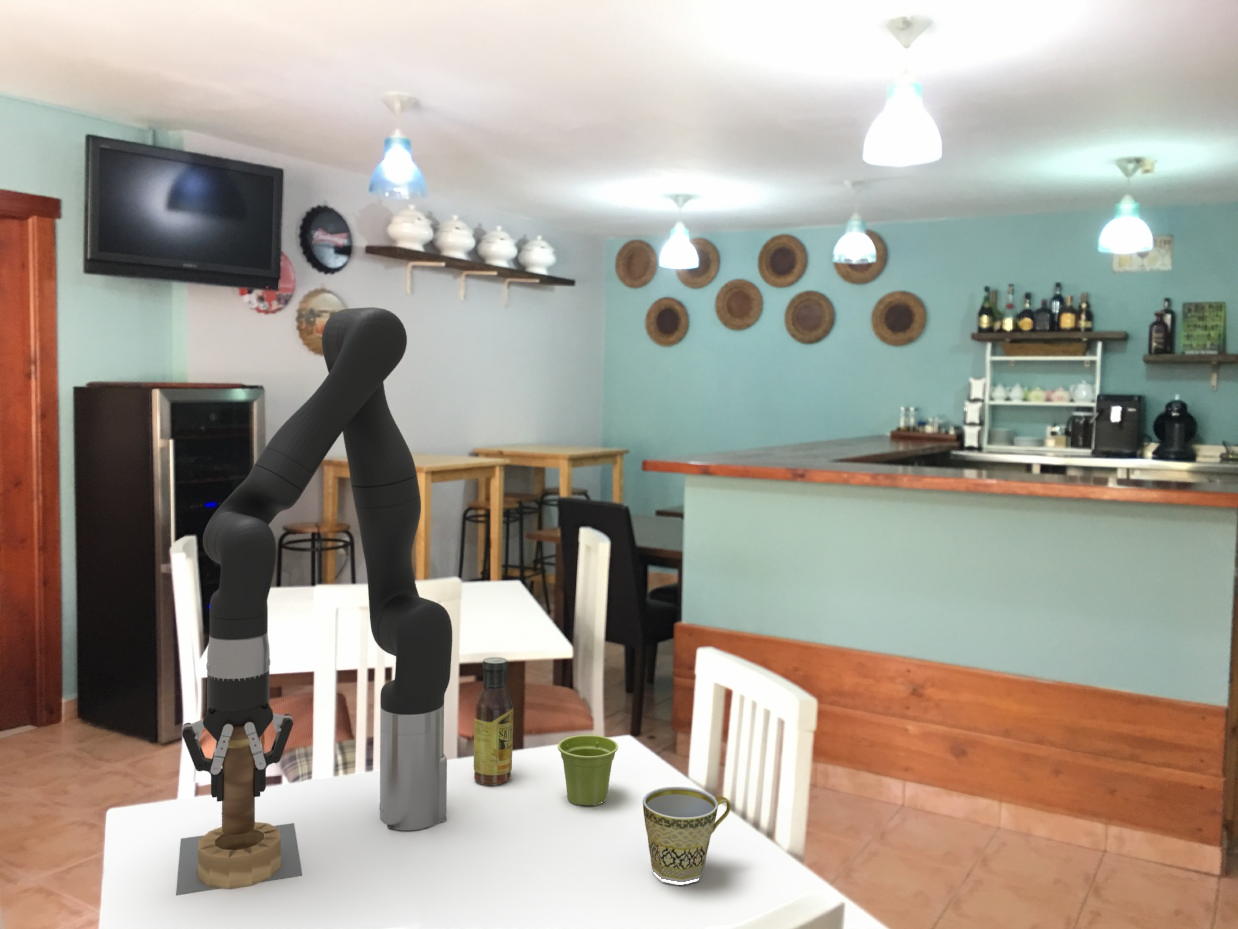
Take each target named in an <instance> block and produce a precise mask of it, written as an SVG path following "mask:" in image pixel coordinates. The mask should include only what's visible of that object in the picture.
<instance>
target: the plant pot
mask: <svg viewBox="0 0 1238 929" xmlns="http://www.w3.org/2000/svg"><path fill="white" fill-rule="evenodd" d="M618 749H619V744H618V743H617V742H616V741H615V740H613V739H612V738H609V737H606V736H603V735H593V734H580V735H573V736H569V737H565V738H564V739H561V740H560V741H559V742H558V744H557V750H558V751H559V752H560V756H561V757H560V758H561V759H562V763H563V769H564V777H565V778H564V779H565V786H566V787H565V788H566V795H567V800H568V801H569V802H570V801H571V804H573V803H575V804H574V805H576V804H579V805H585V806H587V805H594V806H597V805H596V804H598V805H600V804H599V803H601V802H603V803H605V801H606V799H607V796H608V792H609V786H610V785H609V784H610V778H611V771H612V765H613V761H614V759H615V755H616V753H617V751H618ZM601 804H602V803H601ZM579 805H578V806H579Z"/></svg>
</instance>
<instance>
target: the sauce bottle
mask: <svg viewBox="0 0 1238 929" xmlns="http://www.w3.org/2000/svg"><path fill="white" fill-rule="evenodd" d="M508 662H509V661H508V659H507V658H505V657H501V656H500V657H499V656H492V657H485V658H483V659H482V669H483V681H482V686H483V687H482V689H481V690H480V692H479V693H478V695H477V698H476V701H475V715H474V727H473V730H474V733H473V734H474V735H473V738H474V739H473V770H474V774H473V775H474V776H473V777H474V780H475V781H476V782H477V783H478V784H480V785H481V784H482V785H487V786H494V785H501V784H504V783H507V782H509V781H510V779H511V774H512V773H511V772H512V770H513V738H514V735H513V734H514V705H513V703H512V699H511V696H510V693H509V690H508V686H507V685H508V684H507V669H508V667H509V665H508Z"/></svg>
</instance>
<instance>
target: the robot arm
mask: <svg viewBox="0 0 1238 929" xmlns="http://www.w3.org/2000/svg"><path fill="white" fill-rule="evenodd" d="M407 336H408V334H407V331H406V327H405V325H404V324H403V322H402V321H401V319H400V318H399V316H397V315H396V314H395V313H394V312H392V311H390V310H388V309H386V308H380V307H375V306H373V307H372V306H371V307H370V306H369V307H355V308H354V307H353V308H345V309H340V310H338V311H335V312H334V313H332V314H331V315H330V317H329V318H328V319H327V321H325V324H324V326H323V329H322V334H321V349H322V353H323V357H324V358H323V359H324V362H325V365H326V368H327V373H328V374H327V376H326V377H325V379H324V380H323V381H322V382H321V384H320V385H319V387H318V388H317V389H316V390H315V392H314V393H313V394H312V395H311V396H310V397H309V398H308V399H307V400H306V402H304V403H303V404H302V405H301V406H300V407H299V408H298V409H297V410H296V411H295V412H294V413H293V414H292V415H291V416H290V417H289V418H288V419H287V420H286V421H285V422H284V423H283V424H282V425H281V426H280V428H279V429H278V430H277V431H276V432H275V434H274V435H273V436H272V438H271V439H270V440H269V442H268V443H267V445H266V447H265V448H264V449H263V451H262V453H261V454H260V455H259V457H258V459H257V460H256V462H255V463H254V465H253V466H252V468H251V469H250V471H249V473H248V475H247V477H246V478H245V479H244V480H243V481H242V482H241V483H240V484H239V485H238V486H237V487H236V488H235V489H234V490H232V492H231V494H229V496H228V497H227V498H225V500H224V501H223V503H222V504H221V505H219V507H218V508H217V509H216V510H215V511H214V513H213V514H212V516H211V518H210V519H209V520H208V523H207V524H206V527H205V529H204V532H203V536H202V546H203V549H204V551H205V554H206V555H207V557H208V558H209V559H211V561H213V562H215V563H216V564H219V565H220V575H219V586H218V589H217V590H215V591H214V592H213V593H212V595H211V597H210V600H209V601H210V602H209V610H208V611H209V638H208V639H209V640H208V645H207V646H208V647H207V651H206V652H207V654H206V655H207V656H206V658H207V660H206V661H207V662H206V676H207V677H206V679H207V680H206V682H207V683H206V684H207V685H206V711H205V714H204V715H203V718H202V719H200V720H198V721H195V722H192V723H191V722H185V723H184V724H183V726H182V730H181V736H182V738H183V740H184V741H183V742H184V743H185V746H186V748H187V751H188V753H189V756H190V758H191V760H192V763H193V766H194V768H195V770H196V771H197V772H207V773H209V774H210V795H211V797H212V798H213V799H215V798H216V802H222V801H223V773H222V763H223V760H224V757H225V754H226V751H227V748H228V740H230V737H231V734H232V731H233V727H236V726H244V728H245V732H246V735H247V736H248V738H250V748H251V751H252V754H253V757H254V760H255V785H254V797H255V798H260V797H261V793H263V792H264V793H265V791H266V787H267V768H268V767H269V766H270V765H272V764H277V763H279V762H280V761H281V759H282V756H283V753H284V751H285V748H286V744H287V742H288V740H289V737H290V734H291V731H292V729H293V726H294V721H293V716H292V714H290V713H285V714H283V715H282V714H278V713H276V712H275V713H274V712H273V709H272V708H271V705H270V666H271V659H270V658H271V657H270V656H271V655H270V652H271V650H270V642H269V633H268V632H269V631H268V630H269V629H268V628H269V626H268V624H269V621H268V620H269V619H268V612H269V610H268V609H269V605H268V598H269V595H270V590H271V586H272V584H273V578H274V573H275V568H276V563H277V544H276V543H277V542H276V537H275V534H274V531H273V530H272V528H271V526H270V524H271V523H272V521H273V520H274V519H275V518H276V516H278V514H280V513H281V512H283V511H286V510H289V509H291V508H293V507H294V505H295V504H297V502H298V501H299V499H300V498H301V497H302V495H303V493H304V491H305V490H306V488H307V487H308V486H309V484H310V482H311V480H312V479H313V477H314V475H315V474H316V472H317V471H318V469H319V467H320V466H321V464H322V463H323V461H324V459H325V458H326V456H327V454H328V453H329V452H330V450H331V449H332V447H333V445H334V444H335V443H336V441H337V440H338V439H339V437H340V436H341V434H342V437H343V442H344V447H345V454H346V459H347V464H348V465H347V466H348V472H349V478H350V486H351V491H352V497H353V498H352V499H353V503H354V509H355V512H356V517H357V521H358V528H359V534H360V539H361V540H360V542H361V546H362V553H363V557H364V562H365V568H366V579H367V591H368V592H367V594H368V595H367V596H368V607H369V608H368V609H369V611H368V612H369V621H370V622H369V624H370V629H371V634H372V637H373V639H374V642H375V643H376V645H377V646H378V647H379V648H380V649H381V650H382V651H384V652H385V653H387V654H389V655H392V656H393V657H394V656H395V670H394V679H393V680H390V681H388V682H386V683H384V684H383V685H382V688H381V690H380V698H379V699H380V704H379V706H380V709H379V710H380V714H379V715H380V716H379V718H380V719H379V722H380V724H379V727H380V728H379V729H380V730H379V737H380V738H379V740H380V741H379V820H380V821H381V822H382V823H383V824H384V825H386V827H387V828H389V829H393V830H398V831H415V830H422V829H426V828H429V827H431V826H434V825H435V824H438V823H440V822H445V821H447V791H448V790H447V787H448V786H447V785H448V784H447V782H448V781H447V780H448V778H447V777H448V776H447V775H448V758H447V757H446V755H445V753H444V752H445V751H444V747H445V744H444V742H445V739H444V738H445V737H444V735H445V732H444V731H445V694H446V692H447V689H448V687H449V684H450V679H451V673H452V672H451V669H452V654H453V652H452V651H453V626H452V620H451V617H450V614H449V612H448V610H447V609H446V608H445V607H444V606H443V605H442V604H440V603H439V602H436V601H434V600H430V599H427V598H424V597H421V596H420V595H419V591H418V588H417V584H416V580H415V573H414V569H413V568H414V567H413V561H412V560H413V559H412V558H413V557H412V556H413V554H412V553H413V547H414V542H415V537H416V534H417V531H418V528H419V523H420V519H421V511H422V500H421V493H420V486H419V480H418V474H417V470H416V464H415V460H414V457H413V455H412V453H411V450H410V447H409V446H408V444H407V442H406V440H405V438H404V436H403V434H402V432H401V430H400V429H399V427H398V425H397V423H396V421H395V419H394V417H393V415H392V412H391V410H390V406H389V404H388V400H387V396H386V391H385V384H384V382H385V380H386V379H387V378H388V377H389V376H390V375H391V373H392V372H393V371H394V370H396V367H397V366H398V365H399V364H400V362H401V361H402V359H403V357H404V356H405V353H406V349H407V345H408V337H407ZM271 723H272V724H273V728H274V732H276V735H275V738H274V740H273V743H272V745H271V748H270V750H269V751H267V752H265V751H264V748H263V745H262V742H261V737H262V735H263V733H264V732H266V730H267V728H268V727H269V726H270V724H271ZM204 729H206V731H207V732H208V733H209V734H210V736H211V737H213V739H214V740H215V741H216V742H215V746H214V748H213V749H214V751H213V753H212V756H211V757H212V758H211V757H206V756H205V752H204V750H203V747H202V746H201V743H200V741H199V740H200V739H201V738H202V735H203V734H202V733H203V732H202V731H203V730H204ZM252 738H253V739H252Z"/></svg>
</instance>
